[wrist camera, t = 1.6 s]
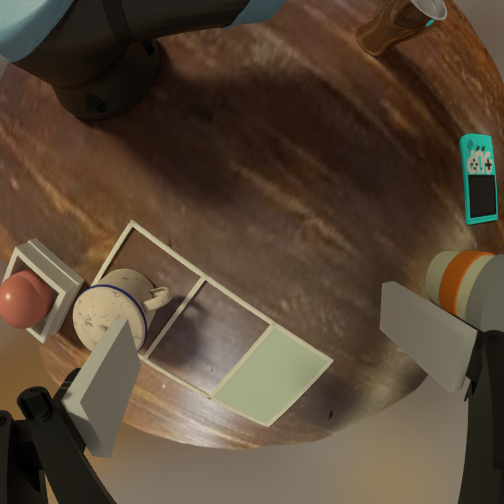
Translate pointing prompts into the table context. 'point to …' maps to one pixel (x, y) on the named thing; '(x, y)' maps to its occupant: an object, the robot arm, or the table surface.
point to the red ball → (25, 299)
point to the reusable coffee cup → (469, 287)
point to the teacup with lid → (118, 306)
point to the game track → (248, 357)
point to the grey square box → (55, 275)
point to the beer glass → (399, 24)
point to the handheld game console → (478, 178)
